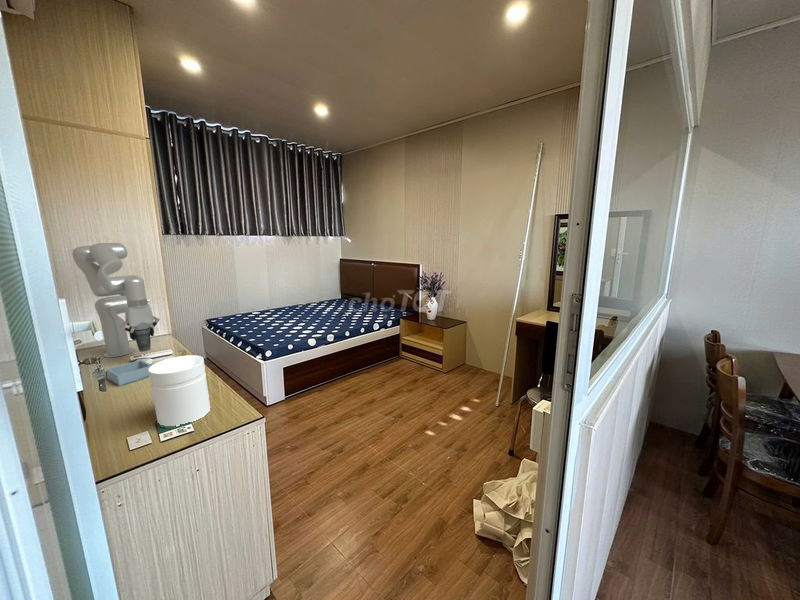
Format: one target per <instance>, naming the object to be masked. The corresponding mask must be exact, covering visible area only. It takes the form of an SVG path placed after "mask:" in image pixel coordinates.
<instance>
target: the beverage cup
mask: <svg viewBox="0 0 800 600" xmlns="http://www.w3.org/2000/svg"><path fill="white" fill-rule="evenodd" d="M150 328H151V327H150V325H149V324H148V323H140V324H139V325H137V326H136V327H135V329H134V332H135V336H136V340H135V342H136V345H137V348H138V352H140V353H143V352H148V351H150V350H151V336H150Z"/></svg>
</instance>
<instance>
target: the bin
mask: <svg viewBox="0 0 800 600" xmlns="http://www.w3.org/2000/svg"><path fill="white" fill-rule="evenodd" d="M152 365H153V364H151V363H149V362H147V361H144V360H142V359H139V360H135V361H131V362H128V363H124V364H120V365H117V366H114V367H110V368H106V369H105V371H106V376H107V379H108V381H110V382H111V383H113V384H114V385H116V386H117V387H119V388H120V387H123V386H127V385H130V384H132V383H136V382H139V381H142V380H145V379H148V378H150V377H149V371H148V368H149V367H150V366H152Z"/></svg>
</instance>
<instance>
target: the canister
mask: <svg viewBox="0 0 800 600" xmlns="http://www.w3.org/2000/svg"><path fill="white" fill-rule="evenodd" d="M151 365H152V366H150V367H149V368H148V371H149V377H148V378H149V380H150V381H149V382H150V386H151V387H150V388H151V392H152V397H153V398H152V399H153V403H154V409H155V414H156V415H155V416H156V421H157V424H158V423H159V424H160V425H164V426H175V425H180V424H185V423H188V422H193V421H196V420H198V419H200V418H202V417H204V416H205V415H206V414H207V413H208V412H209V411H210V412H211V410H210V408H211V401H210V395H209V389H208V380H207V373H206V365H205V360H204V357H203V356H200V355H195V354H192V355H191V354H190V355H189V354H188V355H179V356H173V357H169V358H166V359H163V360H160V361H157V362H155V363H154V364H151ZM204 418H205V417H204Z"/></svg>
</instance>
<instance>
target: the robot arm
mask: <svg viewBox="0 0 800 600" xmlns="http://www.w3.org/2000/svg"><path fill="white" fill-rule="evenodd" d="M71 252H72V253H71V254H72V258H73V261H74V263H75V264H76V266H77V268H79V270H81V272H82V273H83V275H84V276H85V278H86V281H87V283H88V286H89V287H90V290H91V292H92V294H93V295H94V296H95V297H100V299H98V300H96V301H95V303H94V308H95V310H96V313H97V315H98V319H99V321H100V325H101V330H102V334H103V340H104V345H105V349H106V352H104V353H103V357H104V358H106V359H107V358H109V359H110V358H117V357H118V358H119V357H123V356H127V355H129V354H132V353H134V352H135V350H134V348H133V347H130V343H129V338H130V340H132V341H136V336H135V332H134V329H135V327H136V326H137V325H139V324H140V323H148V324H149V325H150V327H151V328H150V337H154V336H155V335H154V334H155V327H156V325H157V324H158V323H159V321H161V319H160V318H159V317H156V316H154V315H153V311H152V308H151V306H150V304H149V303H150V302H151V299H150V298H147V293H146V286H145V280H144V279H143V278H142V277H138V276H137V275H121V276H111V275H112V274H115V273H116V272H118V271H120V270H121V269H122V268H123V261H122V260H123V259H126V258H127V257H128V253H129V252H128V249H127V247H126V246H125V245H124V244H122V243H121V242H98V243H94V244H92V245H83V246H77V247H75V248H74V249H73V250H72V251H71ZM109 276H111V277H109ZM101 297H104V298H101ZM123 313H124V316H125V317H124V318H125V320H124V319H123V318H122V317H121V316H119V314H123ZM127 326H128V327H127ZM128 332H129V337H128Z"/></svg>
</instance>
